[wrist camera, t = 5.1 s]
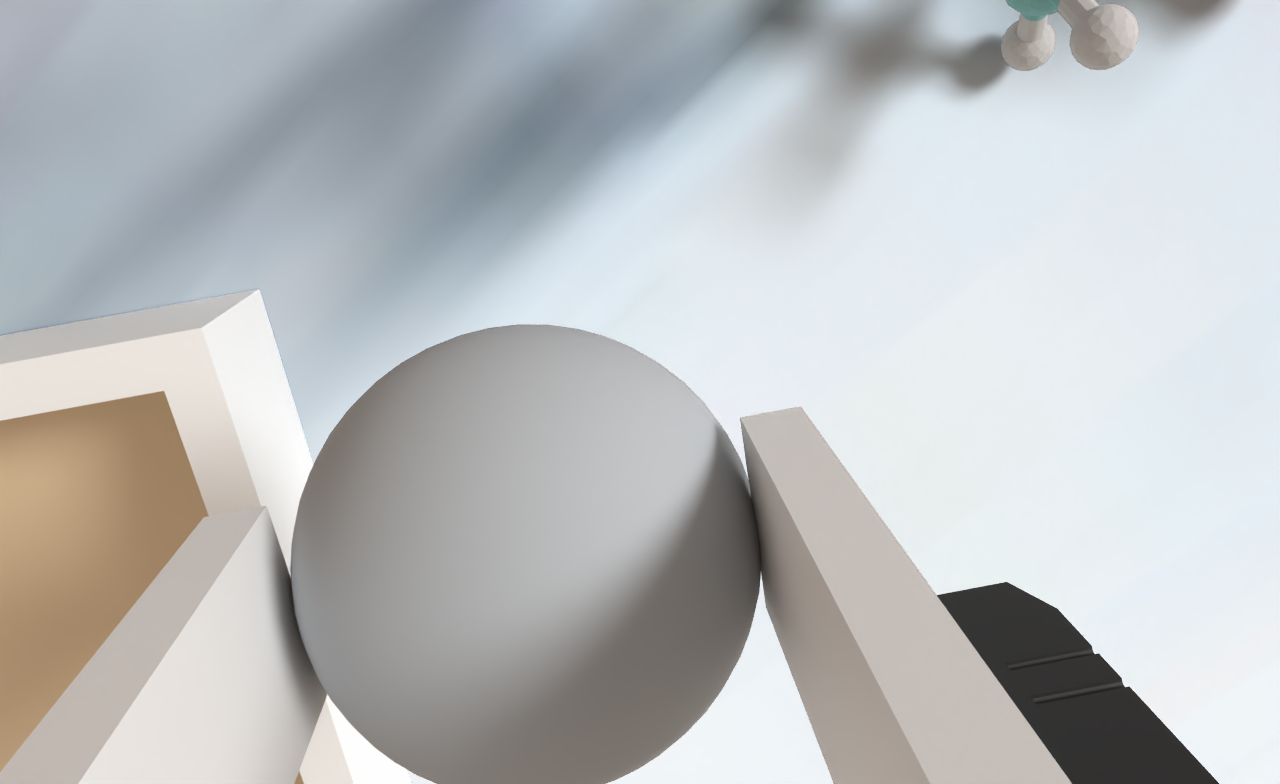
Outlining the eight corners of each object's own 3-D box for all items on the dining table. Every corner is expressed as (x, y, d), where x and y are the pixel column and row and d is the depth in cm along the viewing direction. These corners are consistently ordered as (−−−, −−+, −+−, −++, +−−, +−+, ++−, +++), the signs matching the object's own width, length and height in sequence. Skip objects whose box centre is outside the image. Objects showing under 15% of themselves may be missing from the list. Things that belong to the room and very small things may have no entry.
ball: (305, 320, 14) (125, 481, 8) (692, 250, 14) (778, 363, 8) (404, 650, 16) (313, 965, 10) (743, 587, 16) (839, 864, 10)
